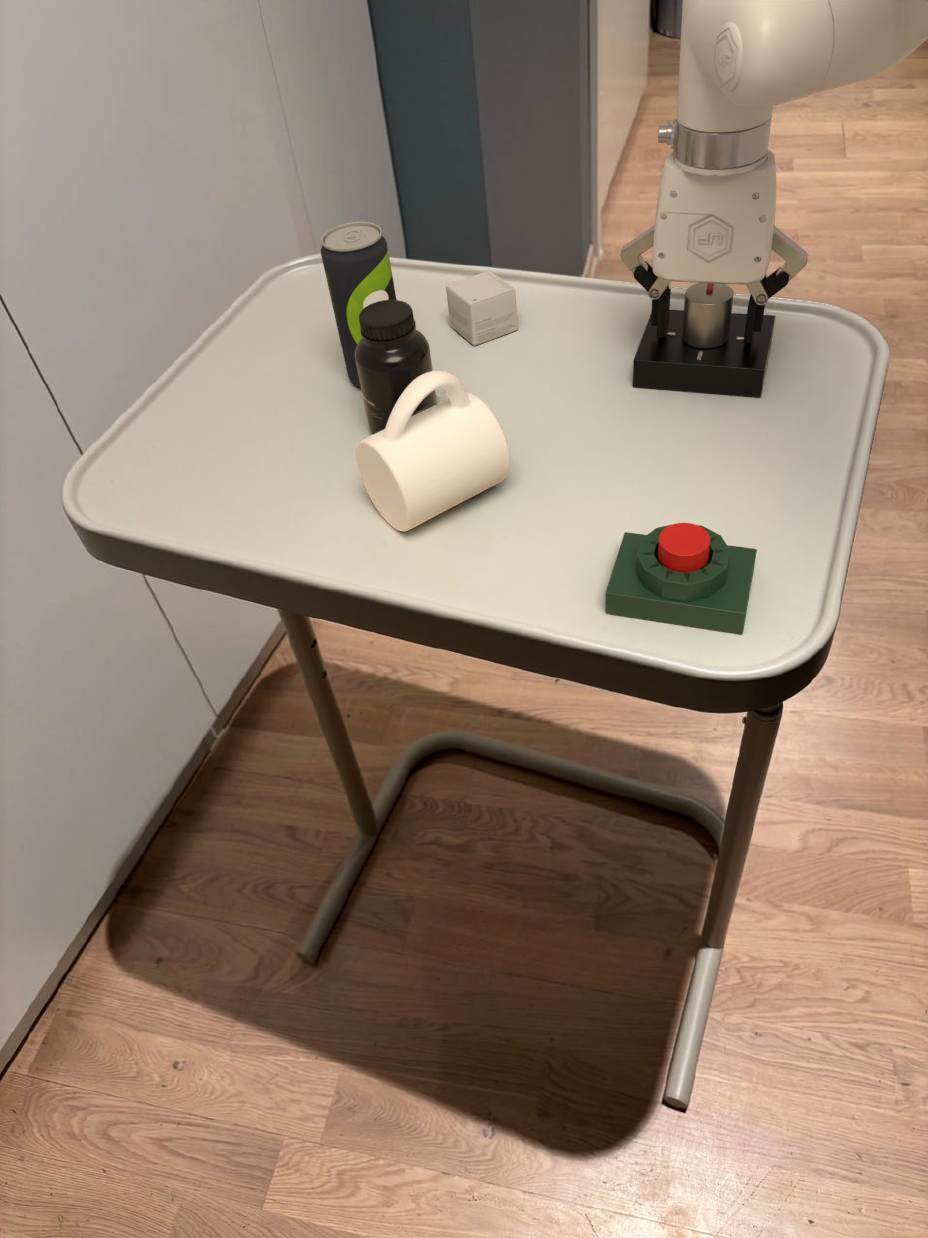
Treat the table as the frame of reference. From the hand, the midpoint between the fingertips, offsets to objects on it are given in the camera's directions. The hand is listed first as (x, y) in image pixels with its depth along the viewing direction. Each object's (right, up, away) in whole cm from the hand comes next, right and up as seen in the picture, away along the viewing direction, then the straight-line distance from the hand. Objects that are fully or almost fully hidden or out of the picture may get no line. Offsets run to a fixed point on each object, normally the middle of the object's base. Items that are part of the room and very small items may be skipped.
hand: (705, 333), depth 90 cm
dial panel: (0, -2, +2) cm, 3 cm away
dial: (0, 0, 0) cm, 0 cm away
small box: (-21, +4, +12) cm, 25 cm away
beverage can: (-32, -3, +7) cm, 33 cm away
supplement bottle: (-29, -9, +1) cm, 30 cm away
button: (-7, -23, -21) cm, 32 cm away
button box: (-7, -25, -19) cm, 32 cm away
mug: (-25, -17, -8) cm, 32 cm away
